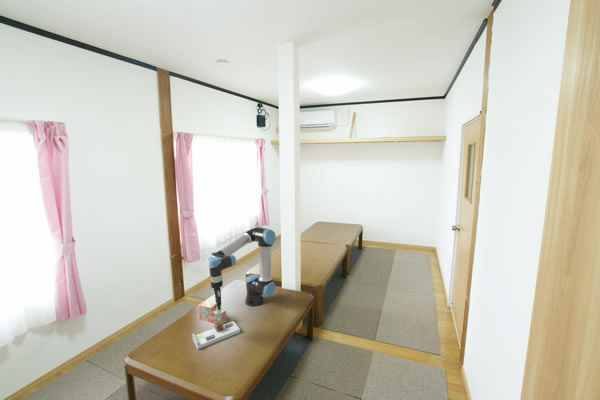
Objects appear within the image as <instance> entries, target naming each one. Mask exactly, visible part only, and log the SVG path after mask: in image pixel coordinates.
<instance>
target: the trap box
mask: <svg viewBox="0 0 600 400" xmlns="http://www.w3.org/2000/svg"><path fill="white" fill-rule="evenodd" d="M223 328H224V330H222V331H219V332H217V331H216V330H215V327H214V328H212V329H209V330H206V331H203V332H200V333H198V334H195V333H194V332H193V333H192V341H193V342H194V343H193V344H194V345H195V346H196V349H197V350H200V349H203V348H205V347H208V346H210V345H212V344H215V343H217V342H220V341H222V340H225V339H227V338H230V337H232V336H234V335H237V334H240V333H241V328H240V327H239V326H238V324H237V323H236V322H235V321H234V320H233V321H230V322H227V323H224V324H223Z"/></svg>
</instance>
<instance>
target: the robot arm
mask: <svg viewBox="0 0 600 400" xmlns="http://www.w3.org/2000/svg"><path fill="white" fill-rule="evenodd" d="M276 240H277V234H276V233H275V231H274V230H273V229H270V228H267V227H266V228H265V227H260V226H259V227H257V226H256V227H253V228H250V229H249V230H246V231H245V232H244V233H242V236H239V237H238V238H237V239H235V240H234V241H233V240H232V241H231V242H230V243H229V244H227V245H226V246H224V247H222V248H221V249H219V250H218V251H216V252H215V251H214V252H210V253H208V257H207V261H208V267H209V276H210V277H209V279H210V287H211V289H213V291H214V297H215V304H216V306H217V314H221V313H222V312H221V309H222V290H221V287H223V283H224V282H223V272H222V271H224V270H226V269H229V268H231V267H233V266H235V265H236V264H237V257H235V255H233V254H235V253H236V252H237V251H239V250H240V249H242V248H243V247H245V246H246V245H248V244H251V243H254V242H255V243H256V242H257V243H258V244H257V246H258V247H259V274H258V273H254V274H250V275H248V276H246V280H245V283H246V296H245V303H244V304H245V305H246V306H249V307H257V306H260V305H262V304H263V302H264V297H270V296H272V295H273V294H274V292H275V290H276V288H277V287H276V283H275V281H273V279H274V278H273V277H272V275H271V272H272V269H271V268H272V259H271V258H272V247H273V245H274V244H275V242H276Z"/></svg>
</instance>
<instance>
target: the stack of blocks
mask: <svg viewBox="0 0 600 400" xmlns="http://www.w3.org/2000/svg"><path fill="white" fill-rule="evenodd" d="M221 312H222V313H221V314H217V306H216V302H211V301H206V300H204V301H202V302H201V303H199V304H198V313H199V320H201V321H204V322H208V323H211V324H214V325H215V323H217V322H219V321H221V322H222V323H223V325H224V324H226V322H227V321H228V320H227V319H228V318H227V309H223V308H221Z"/></svg>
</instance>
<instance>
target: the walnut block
mask: <svg viewBox="0 0 600 400" xmlns="http://www.w3.org/2000/svg"><path fill="white" fill-rule="evenodd" d="M223 325H224V324H223V323H222V322H221V321H219V322H217V323H215V324H214V328H215V330H216V331H217V332H219V331H222V330H224V328H223Z"/></svg>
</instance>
